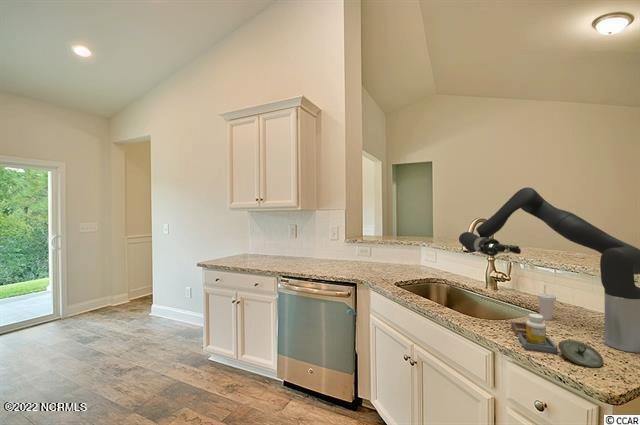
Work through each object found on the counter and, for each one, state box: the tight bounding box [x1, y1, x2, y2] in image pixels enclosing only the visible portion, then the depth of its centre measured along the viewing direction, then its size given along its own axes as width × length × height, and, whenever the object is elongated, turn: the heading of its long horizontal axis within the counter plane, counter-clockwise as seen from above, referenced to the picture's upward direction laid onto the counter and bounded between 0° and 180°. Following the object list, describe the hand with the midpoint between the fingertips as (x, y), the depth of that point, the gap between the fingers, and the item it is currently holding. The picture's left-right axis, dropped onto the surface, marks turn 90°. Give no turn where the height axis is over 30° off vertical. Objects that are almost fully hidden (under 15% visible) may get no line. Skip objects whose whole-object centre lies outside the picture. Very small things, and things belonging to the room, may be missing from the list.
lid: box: [557, 339, 604, 369], centre depth 91 cm, size 11×10×5 cm
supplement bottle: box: [525, 313, 547, 346], centre depth 101 cm, size 5×5×10 cm
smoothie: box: [536, 284, 557, 321], centre depth 125 cm, size 6×6×14 cm
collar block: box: [510, 321, 526, 336], centre depth 112 cm, size 8×8×2 cm
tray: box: [518, 333, 559, 355], centre depth 101 cm, size 9×9×2 cm
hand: (508, 251), depth 116 cm, fingers open, 8 cm apart
